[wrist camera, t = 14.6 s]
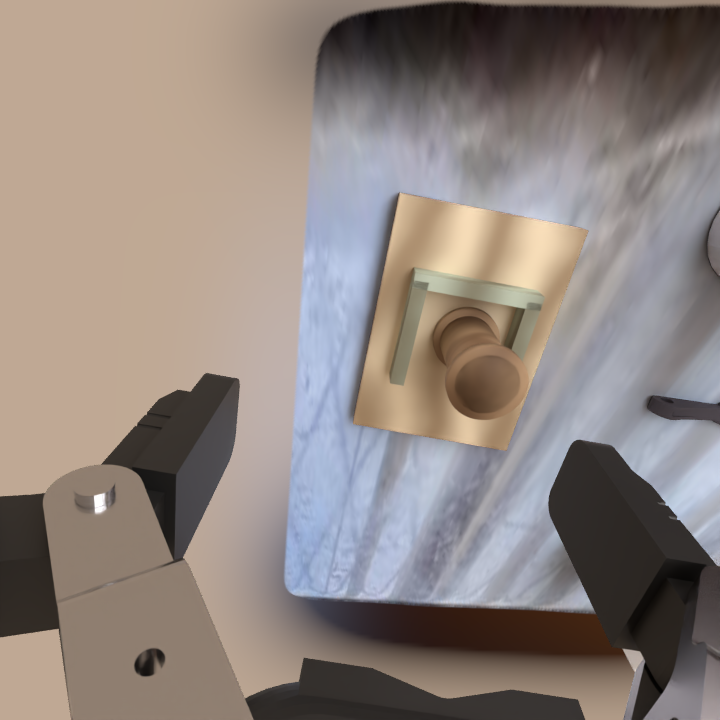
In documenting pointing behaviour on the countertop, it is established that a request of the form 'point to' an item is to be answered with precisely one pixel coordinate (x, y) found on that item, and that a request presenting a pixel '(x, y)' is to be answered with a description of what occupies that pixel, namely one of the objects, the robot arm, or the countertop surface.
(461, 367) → the wooden bobbin
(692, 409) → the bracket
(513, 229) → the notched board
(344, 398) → the countertop surface
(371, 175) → the countertop surface
